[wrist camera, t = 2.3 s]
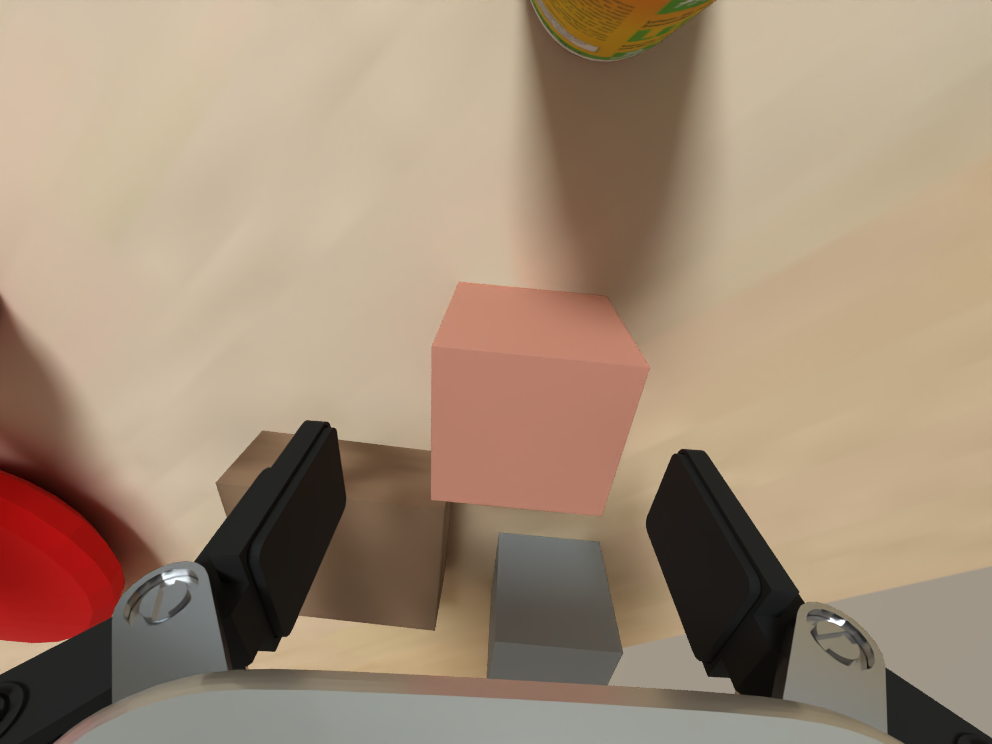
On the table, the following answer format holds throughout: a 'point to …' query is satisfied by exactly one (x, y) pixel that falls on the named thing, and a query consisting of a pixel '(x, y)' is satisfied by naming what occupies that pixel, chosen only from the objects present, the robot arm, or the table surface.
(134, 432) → the table surface
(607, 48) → the supplement bottle
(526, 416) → the salmon pink cube
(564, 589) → the grey cube
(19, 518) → the flat cone with hole
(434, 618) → the walnut block
